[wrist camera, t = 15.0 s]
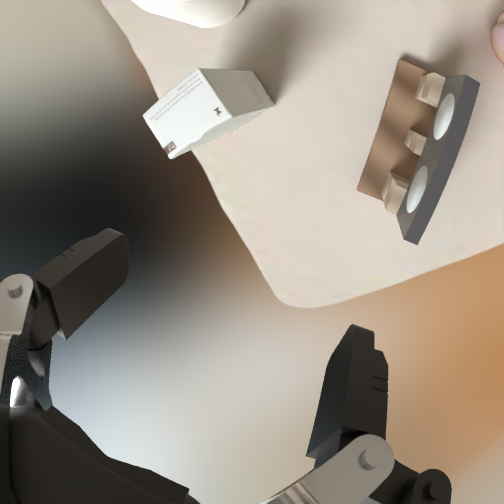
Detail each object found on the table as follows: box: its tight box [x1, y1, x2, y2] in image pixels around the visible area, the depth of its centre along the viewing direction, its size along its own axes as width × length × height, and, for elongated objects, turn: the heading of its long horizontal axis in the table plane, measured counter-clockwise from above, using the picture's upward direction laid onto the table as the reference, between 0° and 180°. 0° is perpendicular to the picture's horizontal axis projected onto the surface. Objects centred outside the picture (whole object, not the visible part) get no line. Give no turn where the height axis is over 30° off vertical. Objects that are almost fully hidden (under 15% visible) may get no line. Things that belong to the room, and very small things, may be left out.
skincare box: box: [143, 68, 274, 159], centre depth 31 cm, size 8×6×15 cm
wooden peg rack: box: [357, 59, 445, 214], centre depth 29 cm, size 18×10×8 cm, turn 167°
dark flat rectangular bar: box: [396, 75, 480, 245], centre depth 23 cm, size 16×2×6 cm, turn 167°
